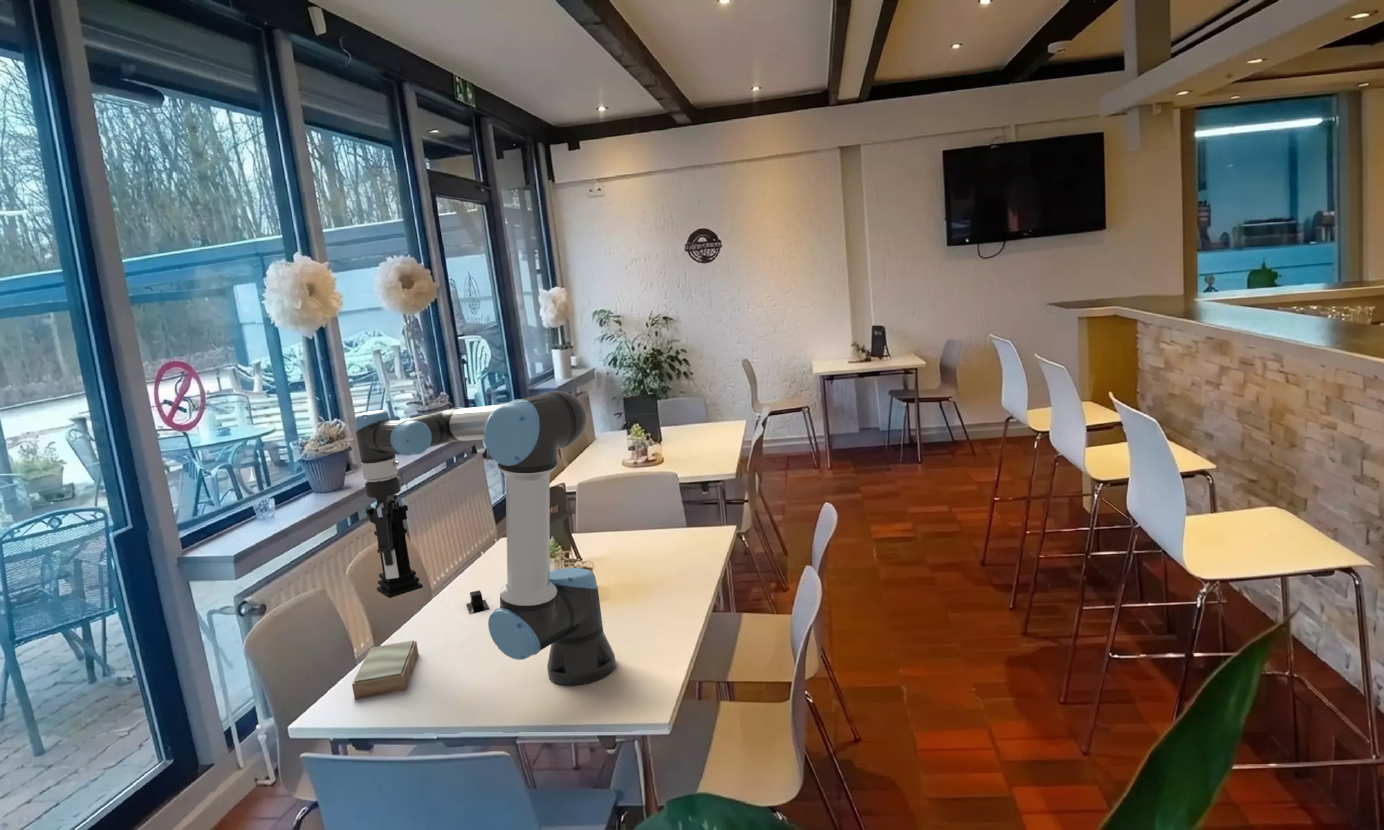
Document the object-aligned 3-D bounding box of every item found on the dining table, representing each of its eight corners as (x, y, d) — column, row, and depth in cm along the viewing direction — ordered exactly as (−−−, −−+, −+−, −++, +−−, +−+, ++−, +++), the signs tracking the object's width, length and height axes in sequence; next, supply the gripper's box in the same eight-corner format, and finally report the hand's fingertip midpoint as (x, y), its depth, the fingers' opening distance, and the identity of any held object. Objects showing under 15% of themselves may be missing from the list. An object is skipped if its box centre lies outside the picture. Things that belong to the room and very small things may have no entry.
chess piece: (377, 590, 203) (363, 508, 200) (409, 580, 208) (396, 500, 204) (389, 598, 197) (375, 514, 193) (422, 587, 202) (409, 505, 198)
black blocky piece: (493, 612, 237) (491, 596, 236) (467, 619, 234) (464, 603, 234) (487, 599, 248) (485, 583, 248) (461, 605, 246) (459, 589, 245)
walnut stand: (405, 690, 193) (402, 673, 192) (354, 699, 191) (351, 682, 190) (418, 654, 212) (416, 639, 212) (372, 662, 211) (369, 646, 210)
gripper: (388, 486, 188) (404, 584, 191) (407, 466, 209) (421, 554, 212) (352, 490, 187) (369, 589, 190) (375, 470, 208) (390, 559, 212)
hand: (396, 571), depth 201 cm, fingers closed on chess piece, 9 cm apart
